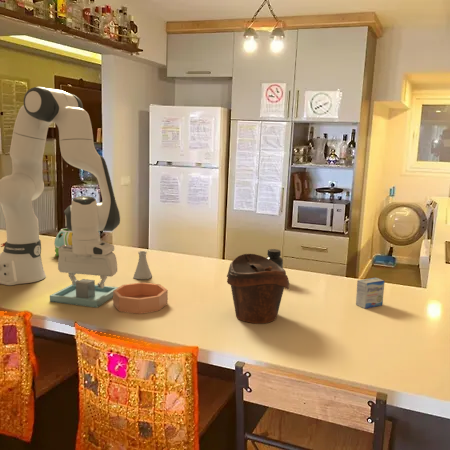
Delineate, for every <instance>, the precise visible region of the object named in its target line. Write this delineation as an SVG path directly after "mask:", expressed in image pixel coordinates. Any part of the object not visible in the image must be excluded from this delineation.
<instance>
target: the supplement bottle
mask: <svg viewBox="0 0 450 450" xmlns="http://www.w3.org/2000/svg"><path fill="white" fill-rule="evenodd" d="M281 252H282V251H281V250H280V249H277V248H271V249H270V248H269V249H267V256H266V257H265V258H267V259H269V260H271V261H273V262H275V263H277V264H278V265H279V266H280V267H282V268H283V269H284V260H283V258H282V257H281V255H282V253H281Z"/></svg>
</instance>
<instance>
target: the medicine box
mask: <svg viewBox="0 0 450 450" xmlns="http://www.w3.org/2000/svg"><path fill="white" fill-rule="evenodd" d="M356 283H357V284H356V297H355V305H356V306H358V307H360V308H363V309H364V310H365V309H371V308H376V307H380V306H381V307H382V306H383V305H384V304H383V303H384V293H385V291H384V290H385V280H383V279H381V278H379V277H371V278H365V279H364V278H363V279H358V280H357V282H356Z"/></svg>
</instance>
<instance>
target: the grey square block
mask: <svg viewBox="0 0 450 450" xmlns="http://www.w3.org/2000/svg"><path fill="white" fill-rule="evenodd" d="M95 285H96V282H95V280H94V279H88V278H87V279H86V278H82V279H80V280H79V281H78V282H76V297H79V298H87V299H88V298H90V297H91V296H93V295H95Z"/></svg>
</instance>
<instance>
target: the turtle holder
mask: <svg viewBox="0 0 450 450" xmlns="http://www.w3.org/2000/svg"><path fill="white" fill-rule="evenodd" d="M72 235H73V231H70V230H69V229H67V228H66V227H64V228H61V229H60V230H59V232H58V233H57V235H56V236H55V238H54V253H55V256H56V257H59V253H58V249H59V247H60V246H62V245H72ZM61 248H62V247H61Z"/></svg>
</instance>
